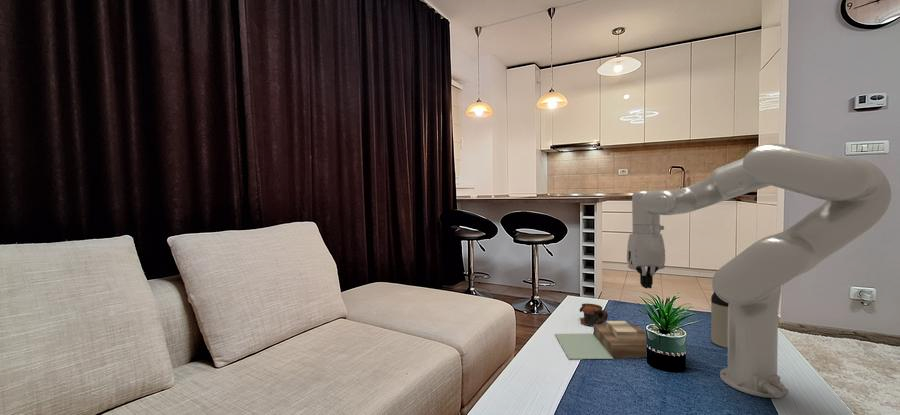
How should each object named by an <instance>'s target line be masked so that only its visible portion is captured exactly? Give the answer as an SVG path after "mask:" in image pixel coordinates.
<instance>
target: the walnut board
mask: <svg viewBox="0 0 900 415" xmlns="http://www.w3.org/2000/svg"><path fill="white" fill-rule="evenodd" d="M628 324H629V325H630V326H631V327H633V328H634V329H635V330H636V331H637V336H638V340H617V339H616V338H615V337H614V336H613V335H612V334H611V333H610V332H609V331H608V330H607V328H606V323H605V324H604V323H602V324H599V323H597V324H594V326H593V334H594V336H595V337H596V338H597V339H598V340H599V342H600V343H601V344H602V345H603V346H604V348H605V349H606V350H607V351H608V352H609V354H610V355H611V356H612V357H613V358H614V359H638V358H637V357H642V358H641V359H644V358H643V357H646V348H647V344H646V333H647V332H646V331H645V330H644V329H642V328H641V327H640V326H639V325H637V324H636V323H628Z"/></svg>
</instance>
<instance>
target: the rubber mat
mask: <svg viewBox="0 0 900 415" xmlns="http://www.w3.org/2000/svg"><path fill="white" fill-rule="evenodd" d="M554 337H556V339H557V342H558V343H559V346H560V347H561V349H562V350H563V352H564V353H565V356H566V357H567V359H568V360H570V361H573V360H574V361H579V360H581V361H583V359H615V358H613V357H612V356H611V355H610V354H609V352H608V351H607V350H606V349H605V348H604V346H603V345H602V344H601V343H600V342H599V340H598V339H597V338H596V337H595V336H594V332H592V333H591V332H590V333H554Z"/></svg>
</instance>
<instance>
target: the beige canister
mask: <svg viewBox="0 0 900 415" xmlns="http://www.w3.org/2000/svg"><path fill="white" fill-rule="evenodd" d="M711 288H712V289H713V286H712V287H711ZM710 299H711V301H710V302H711V303H710V304H711V306H710V307H711V310H710V312H711V315H710V316H711V318H710V319H711V324H710V328H711V329H710V331H711V333H710V334H711V338H710V340H711V342H712V343H713V344H715V345H717V346H720V347H722V348H724V349H725V348H726V349H728V305H729V303H727V302H725V301H723V300H722V299H720V298H719V297H718V296H717V295H716V293H715V292H714V291H713V293H712V295H711V298H710Z"/></svg>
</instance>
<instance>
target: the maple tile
mask: <svg viewBox="0 0 900 415" xmlns="http://www.w3.org/2000/svg"><path fill="white" fill-rule="evenodd" d="M605 324H606V328H607V330H608V331H609V332H610V333H611V334H612V335H613V336H614V337H615V338H616V339H617V340H638V336H637V331H636V330H635V329H634V328H633V327H631V326H630V325H629V324H630V323H628V322H627V321H626V320H606V321H605Z"/></svg>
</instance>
